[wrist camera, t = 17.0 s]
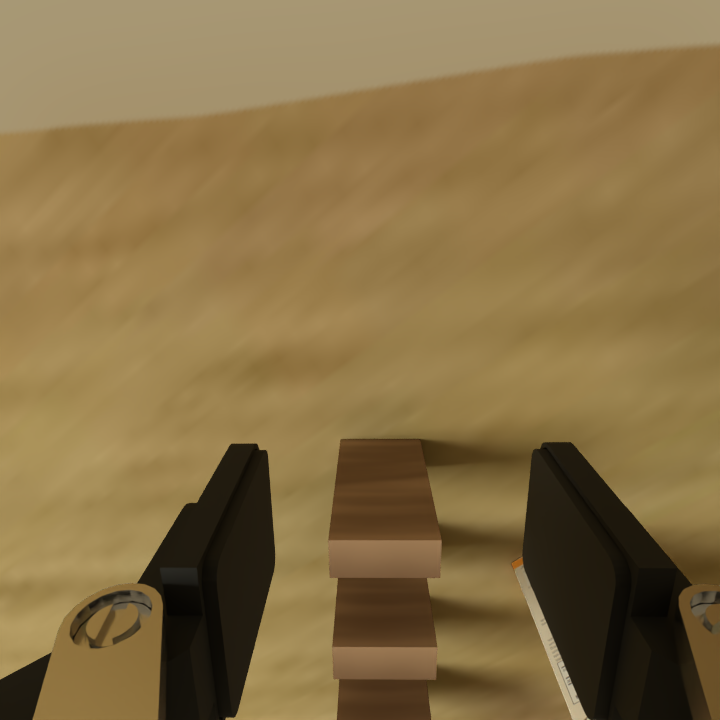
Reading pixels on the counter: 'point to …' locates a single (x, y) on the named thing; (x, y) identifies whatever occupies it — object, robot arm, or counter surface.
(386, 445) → the domino
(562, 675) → the supplement box
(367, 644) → the domino
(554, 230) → the counter surface
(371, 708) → the domino
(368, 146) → the counter surface
